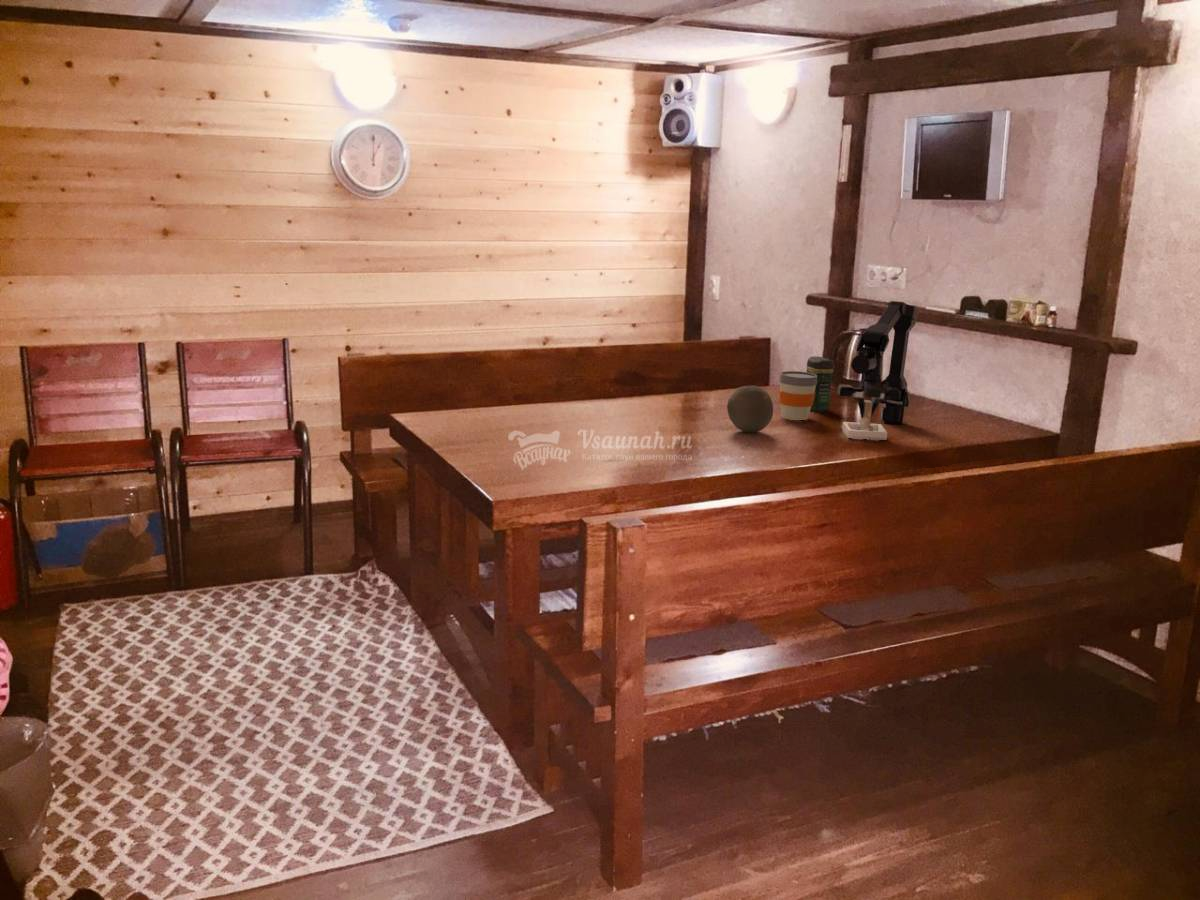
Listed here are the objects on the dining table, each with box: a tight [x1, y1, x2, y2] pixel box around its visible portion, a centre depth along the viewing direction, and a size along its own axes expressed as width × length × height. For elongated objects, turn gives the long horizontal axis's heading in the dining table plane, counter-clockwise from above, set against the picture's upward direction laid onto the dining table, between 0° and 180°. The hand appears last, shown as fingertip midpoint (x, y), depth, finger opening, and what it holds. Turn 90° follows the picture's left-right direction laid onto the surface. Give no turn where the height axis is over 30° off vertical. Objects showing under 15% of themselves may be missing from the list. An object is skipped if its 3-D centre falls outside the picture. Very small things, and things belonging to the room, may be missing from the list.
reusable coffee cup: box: [778, 370, 817, 421], centre depth 334 cm, size 13×13×15 cm
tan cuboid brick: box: [860, 399, 872, 428], centre depth 314 cm, size 2×4×8 cm, turn 175°
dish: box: [841, 421, 888, 441], centre depth 315 cm, size 12×12×3 cm
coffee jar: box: [806, 356, 834, 412], centre depth 349 cm, size 10×8×19 cm
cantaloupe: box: [726, 385, 774, 434], centre depth 310 cm, size 14×14×15 cm
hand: (865, 418), depth 314 cm, fingers closed on tan cuboid brick, 2 cm apart
